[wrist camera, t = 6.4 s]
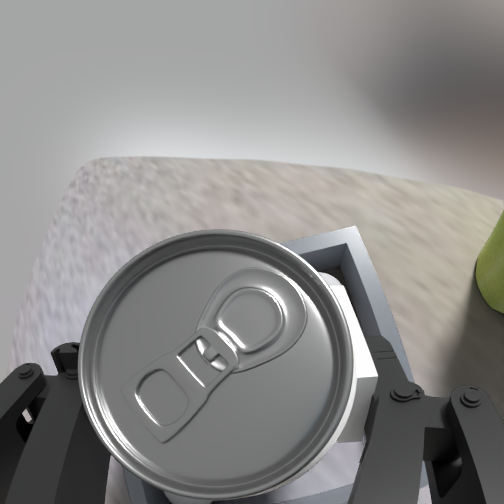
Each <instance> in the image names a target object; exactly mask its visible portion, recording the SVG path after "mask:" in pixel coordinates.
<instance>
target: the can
mask: <svg viewBox="0 0 504 504" xmlns="http://www.w3.org/2000/svg"><path fill="white" fill-rule="evenodd" d="M78 379H79V387H80V393H81V397H82V401H83V405H84V408H85V411H86V414H87V416H88V419H89V421H90V423H91V425H92V427H93V429H94V431H95V433H96V434H97V436H98V438H99V439H100V441H101V442H102V444H103V445H104V446H105V448H106V449H107V450H108V451H109V453H110V454H111V455H112V456H113V457H114V458H115V459H116V460H117V461H118V462H119V463H120V464H121V465H122V466H123V467H125V468H126V469H127V470H128V471H129V472H131V473H132V474H133V475H135V476H136V477H138V478H139V479H141V480H143V481H144V482H146V483H148V484H150V485H152V486H153V487H156V488H158V489H160V490H163V491H165V492H168V493H171V494H174V495H177V496H181V497H186V498H191V499H198V500H231V499H238V498H244V497H250V496H256V495H260V494H264V493H267V492H270V491H273V490H276V489H278V488H280V487H283V486H285V485H287V484H289V483H291V482H292V481H294V480H296V479H297V478H299V477H301V476H302V475H303V474H305V473H306V472H308V471H309V470H310V469H311V468H313V467H314V466H315V465H316V464H317V463H318V462H319V461H320V460H321V459H322V458H323V457H324V456H325V455H326V454H327V453H328V451H329V450H330V449H331V448H332V446H333V445H334V443H335V442H336V440H337V439H338V437H339V436H340V434H341V432H342V430H343V428H344V426H345V424H346V422H347V420H348V417H349V415H350V412H351V409H352V405H353V401H354V397H355V391H356V383H357V362H356V354H355V348H354V344H353V340H352V337H351V333H350V330H349V326H348V323H347V320H346V317H345V315H344V312H343V310H342V307H341V305H340V303H339V301H338V299H337V298H336V296H335V294H334V292H333V291H332V289H331V288H330V286H329V285H328V284H327V282H326V281H325V280H324V279H323V277H322V276H321V275H320V274H319V273H318V272H317V271H316V270H315V269H314V268H313V267H312V266H311V265H310V264H309V263H308V262H307V261H306V260H304V259H303V258H302V257H300V256H299V255H298V254H296V253H295V252H293V251H292V250H290V249H288V248H287V247H285V246H283V245H281V244H279V243H277V242H275V241H273V240H270V239H268V238H265V237H262V236H259V235H256V234H252V233H248V232H243V231H236V230H225V229H212V230H201V231H194V232H189V233H184V234H181V235H177V236H174V237H171V238H168V239H166V240H163V241H161V242H159V243H157V244H155V245H153V246H151V247H149V248H147V249H146V250H144V251H142V252H141V253H139V254H138V255H136V256H135V257H134V258H132V259H131V260H130V261H129V262H127V263H126V264H125V265H124V266H123V267H122V268H121V269H120V270H119V271H118V272H117V273H116V274H115V275H114V276H113V277H112V278H111V279H110V280H109V282H108V283H107V284H106V285H105V287H104V288H103V290H102V291H101V292H100V294H99V296H98V297H97V299H96V301H95V302H94V304H93V306H92V308H91V310H90V312H89V315H88V317H87V320H86V323H85V326H84V329H83V332H82V336H81V341H80V346H79V354H78Z"/></svg>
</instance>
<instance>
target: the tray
mask: <svg viewBox="0 0 504 504" xmlns="http://www.w3.org/2000/svg"><path fill="white" fill-rule="evenodd" d="M279 244H281V245H283V246H285V247H287V248H288V249H290V250H292V251H293V252H295V253H296V254H298V255H299V256H300V257H302V258H303V259H304V260H306V261H307V262H308V263H309V264H310V265H311V266H312V267H313V268H314V269H315V270H316V271H317V272H318V271H322V270H326V269H330V268H334V267H338V266H340V268H341V271H342V274H343V276H344V279H345V282H346V285H347V287H348V290H349V293H350V296H351V299H352V301H353V304H354V307H355V310H356V313H357V316H358V319H359V322H360V325H361V328H362V331H363V334H364V336H380V335H381V336H383V337H384V338H385V339H387V340H388V341H389V342H390V343H391V345H392V347H393V349H394V352H395V353H396V355H397V359H399V362H400V364H401V366H402V368H403V370H404V372H405V374H406V376H407V379H408V381H410V382H413V383H415V382H414V379H413V376H412V372H411V369H410V366H409V363H408V359H407V356H406V353H405V350H404V347H403V344H402V341H401V338H400V335H399V332H398V329H397V327H396V324H395V321H394V318H393V315H392V313H391V310H390V307H389V305H388V302H387V299H386V297H385V294H384V292H383V289H382V286H381V284H380V281H379V279H378V276H377V274H376V272H375V269H374V267H373V264H372V262H371V259H370V257H369V255H368V252H367V250H366V248H365V246H364V243H363V241H362V239H361V236H360V234H359V232H358V230H357V228H356V226H353V227H348V228H344V229H340V230H335V231H331V232H327V233H322V234H318V235H314V236H309V237H305V238H301V239H297V240H292V241H288V242H284V243H279ZM318 273H319V274H320V275H321V276H322V277H323V279H324V280H325V281H326V282H327V284H328V285H329V286H342V285H341V284H340V282H339V281H338V280H337V279H336V278H334V277H333V276H331V275H329V274H326V273H320V272H318ZM123 470H124V475H125V480H126V484H127V488H128V493H129V497H130V501H131V504H170V503H169V500H170V501H171V502H172V503H173V504H210V503H211V502H212V501H213V500H198V499H191V498H186V497H181V496H177V495H174V494H171V493H168V492H165V491H163V490H160V489H158V488H156V487H153V486H152V485H150V484H148V483H146V482H144V481H143V480H141V479H139V478H138V477H136V476H135V475H133V474H132V473H131V472H129V471H128V470H127V469H126V468H125V467H123ZM353 484H354V483H353ZM353 484H350V485H347V486H344V487H340V488H337V489H334V490H330V491H327V492H323V493H319V494H315V495H311V496H307V497H303V498H299V499H294V500H289V501H284V502H279V503H273V504H347V502H348V499H349V497H350V494H351V491H352V488H353ZM428 484H429V483H428V478H427V473H426V468H425V463H424V461H422V471H421V480H420V488H422V487H424V486H426V485H428ZM420 488H419V489H420ZM168 499H169V500H168Z"/></svg>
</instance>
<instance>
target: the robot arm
mask: <svg viewBox="0 0 504 504" xmlns="http://www.w3.org/2000/svg"><path fill="white" fill-rule="evenodd" d="M330 288H331V289H332V291H333V292H334V294H335V296H336V298H337V299H338V301H339V303H340V305H341V307H342V310H343V312H344V315H345V317H346V320H347V323H348V326H349V330H350V333H351V337H352V340H353V344H354V348H355V354H356V362H357V383H356V391H355V397H354V401H353V405H352V409H351V412H350V415H349V417H348V420H347V422H346V424H345V426H344V428H343V430H342V432H341V434H340V436H339V437H338V439H337V440H338V443H343V442H356V441H361V440H362V437H363V434H364V430H365V435H366V440H367V441H366V444H365V447H364V450H363V453H362V456H361V459H360V462H359V463H360V465H359V468H358V471H357V475H356V478H355V481H354V484H353V488H352V491H351V494H350V497H349V499H348V502H347V504H417V501H418V495H419V488H420V480H421V471H422V461H424V463H425V468H426V473H427V478H428V483H429V488H430V494H431V500H432V504H504V424H503V422H502V420H501V418H500V416H499V414H498V412H497V410H496V408H495V407H494V405H493V403H492V401H491V399H490V397H489V396H488V395H487V393H486V392H485V391H484V390H482V389H480V388H479V387H475V386H472V385H463V386H460V387H457V388H456V389H455V390H454V391H453V392H452V394H451V397H450V398H439V397H430V396H426V395H425V394H424V391H423V390H422V388H421V387H420V386H419V385H417V384H415V383H413V382H410V381H408V379H407V376H406V374H405V372H404V370H403V368H402V366H401V364H400V362H399V359H397V355H396V353H395V352H394V349H393V347H392V345H391V343H390V342H389V341H388V340H387V339H385V338H384V337H383V336H381V335H380V336H363V333H362V331H361V328H360V325H359V323H358V320H357V318H356V315H355V313H354V310H353V308H352V305H351V303H350V300H349V298H348V295H347V293H346V290H345V288H344V285H342V286H330ZM79 346H80V343H75V342H71V343H65V344H62V345H60V346H58V347H56V348H54V349H53V351H52V352H51V355H52V358H53V360H54V363H55V366H56V368H57V371H58V375H57V376H48V375H44V374H43V371H42V369H41V367H40V366H39V365H38V364H36V363H27V364H23V365H21V366H19V367H18V368H16V369H15V370H14V371H13V372H12V373H11V374H10V375H9V376H8V377H7V378H6V379H5V380H4V381H3V382H2V383H1V384H0V504H104V503H105V493H106V485H107V477H108V470H109V463H110V456H111V454H110V453H109V451H108V450H107V449H106V448H105V446H104V445H103V444H102V442H101V441H100V439H99V438H98V436H97V434H96V433H95V431H94V429H93V427H92V425H91V423H90V421H89V419H88V416H87V414H86V411H85V408H84V405H83V401H82V397H81V393H80V387H79V379H78V354H79ZM25 409H27V411H28V413H29V415H30V416H31V418H32V420H31V421H30V422H27V421H26V420H25V418H24V416H23V415H22V413H23V411H24V410H25Z"/></svg>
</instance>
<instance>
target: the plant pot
mask: <svg viewBox="0 0 504 504" xmlns="http://www.w3.org/2000/svg"><path fill="white" fill-rule="evenodd" d="M476 280H477V285H478V287H479V290H480V292H481V294H482V296H483V298H484V299H485V301H486V302H487V304H488V305H489V306H490V307H491V308H492V309H494V310H497V311H499V312H501V313H503V314H504V211H503V213H502V215H501V217H500V219H499V221H498V222H497V224H496V226H495V228H494V230H493V232H492V234H491V235H490V237H489V239H488V240H487V242H486V244H485V245H484V247H483V249H482V250H481V252H480V254H479V256H478V259H477V267H476Z"/></svg>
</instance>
